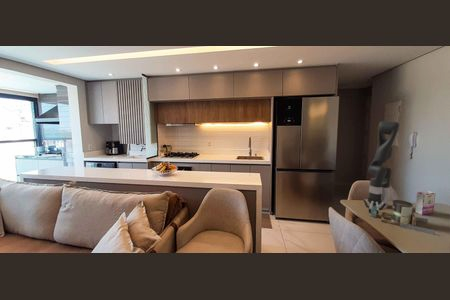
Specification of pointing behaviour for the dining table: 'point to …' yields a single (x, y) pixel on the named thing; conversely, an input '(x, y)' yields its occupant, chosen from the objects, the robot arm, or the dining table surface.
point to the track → (418, 227)
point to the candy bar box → (425, 202)
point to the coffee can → (401, 211)
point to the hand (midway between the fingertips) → (373, 213)
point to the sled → (373, 214)
